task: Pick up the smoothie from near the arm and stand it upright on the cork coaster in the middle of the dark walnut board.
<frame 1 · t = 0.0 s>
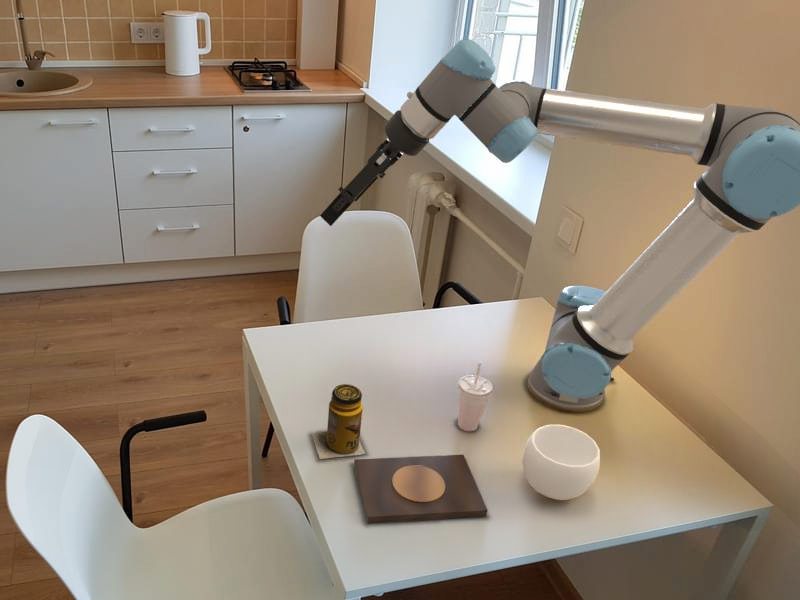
hand: (339, 208, 135), 36 cm above the table, tool tilted 35°, fingers open, 13 cm apart
smoothie: (467, 426, 140), on the table
cup: (552, 488, 127), on the table
condiment: (337, 445, 134), on the table
board: (417, 490, 124), on the table
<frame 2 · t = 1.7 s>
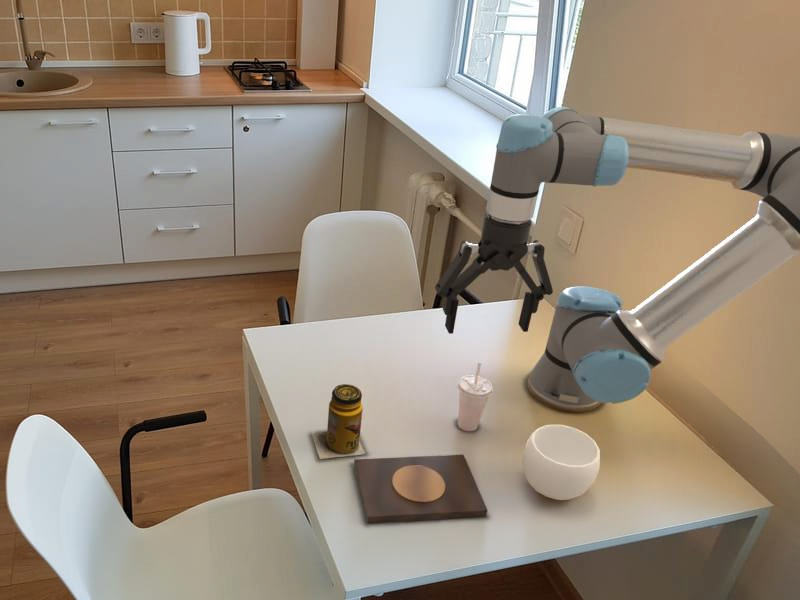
hand: (486, 328, 128), 22 cm above the table, tool pointing down, fingers open, 13 cm apart
nothing on the table moved.
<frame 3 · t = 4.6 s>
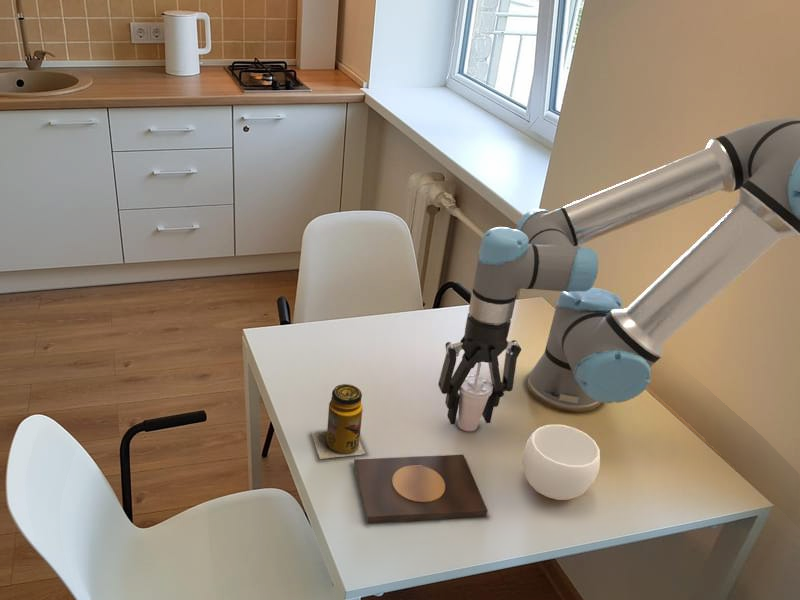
hand: (468, 419, 139), 1 cm above the table, tool pointing down, fingers closed on smoothie, 6 cm apart
smoothie: (467, 426, 140), on the table, touching gripper
everything else where it was.
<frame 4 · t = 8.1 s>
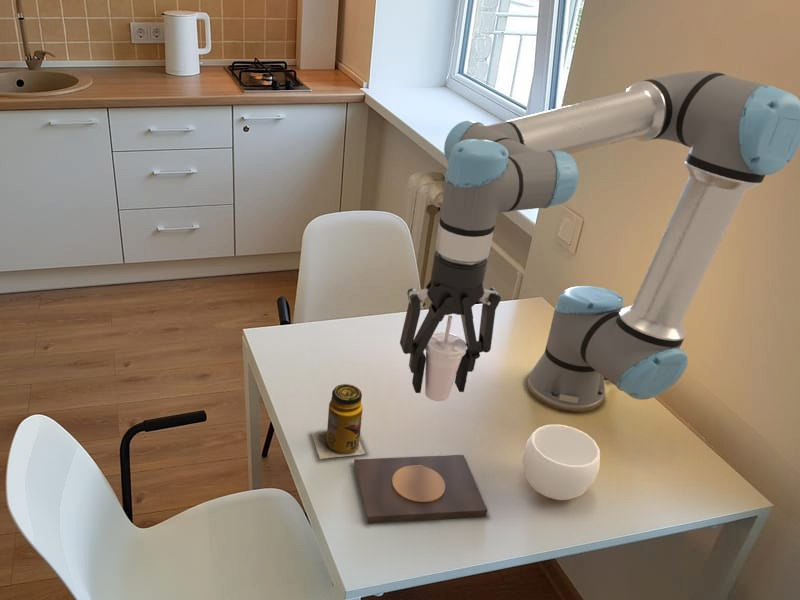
hand: (437, 387, 115), 20 cm above the table, tool pointing down, fingers closed on smoothie, 6 cm apart
smoothie: (436, 395, 116), point 19 cm above the table, touching gripper
everything else where it was.
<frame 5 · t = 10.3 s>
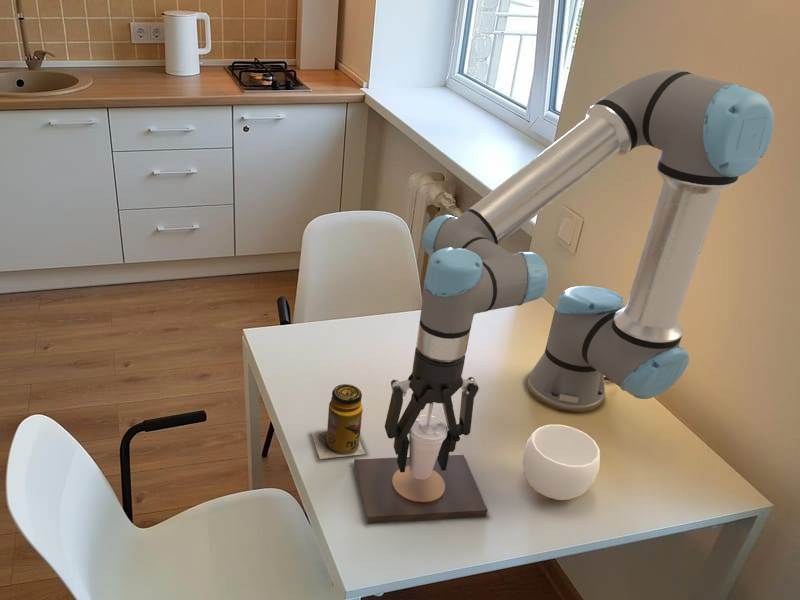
hand: (421, 465, 121), 6 cm above the table, tool pointing down, fingers closed on smoothie, 6 cm apart
smoothie: (420, 472, 122), point 4 cm above the table, touching gripper
everything else where it was.
when the fingers open (3 cm above the table, at t = 11.5 s): smoothie stays where it is, resting on board.
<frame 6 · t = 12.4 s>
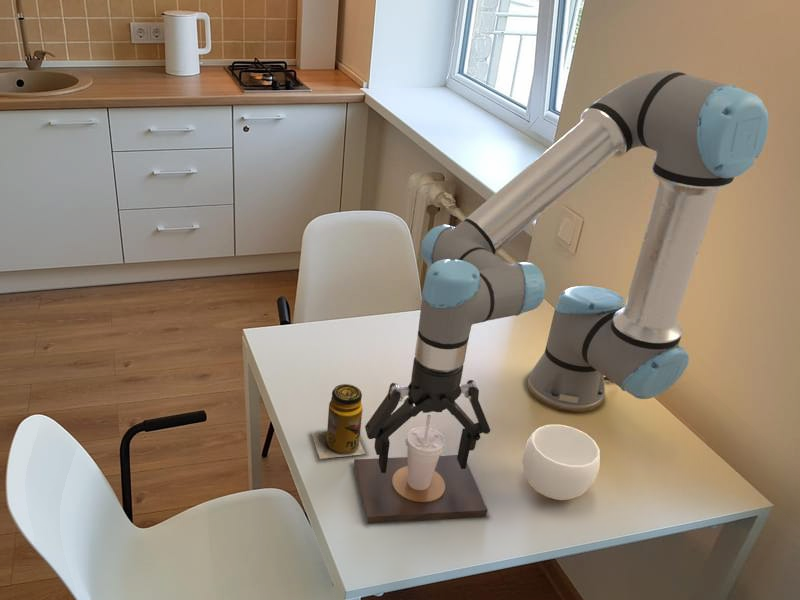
hand: (421, 465, 121), 6 cm above the table, tool pointing down, fingers open, 13 cm apart
smoothie: (418, 483, 123), point 2 cm above the table, touching board
everything else where it was.
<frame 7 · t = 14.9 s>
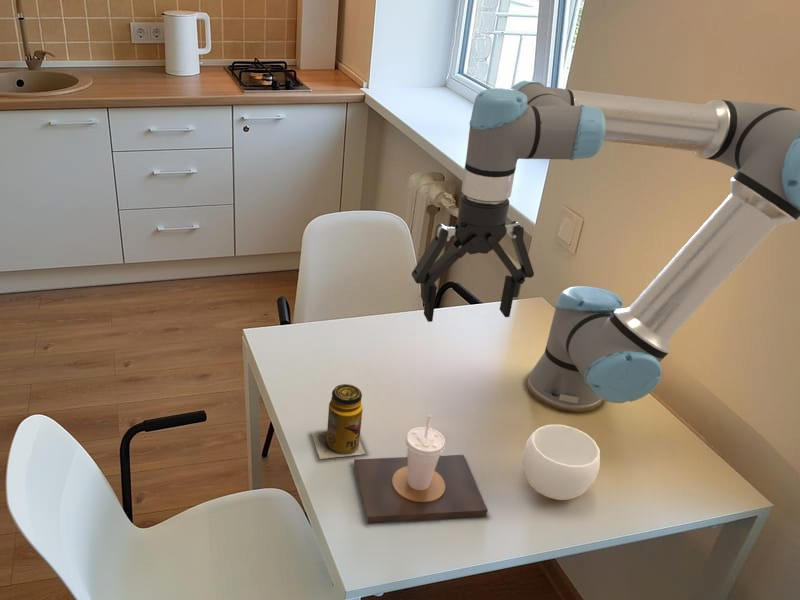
hand: (466, 315, 123), 26 cm above the table, tool pointing down, fingers open, 13 cm apart
nothing on the table moved.
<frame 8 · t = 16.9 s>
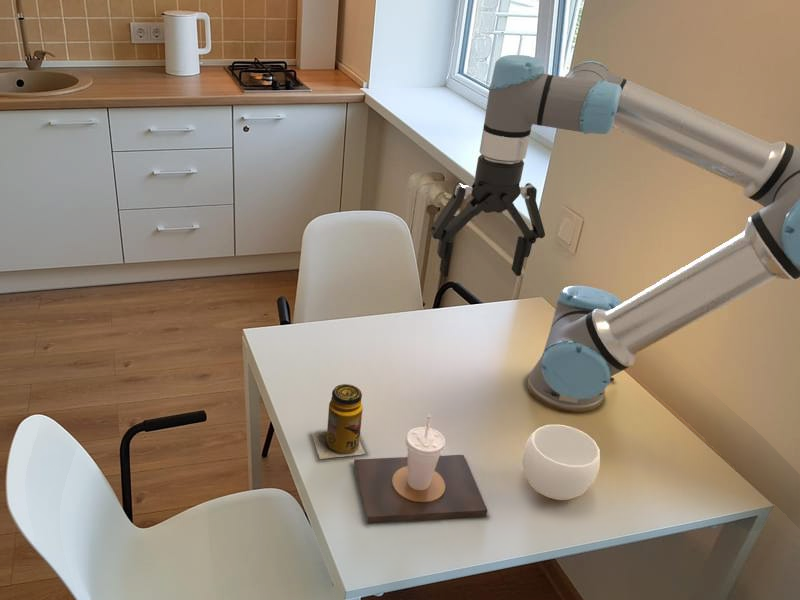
hand: (479, 273, 131), 29 cm above the table, tool pointing down, fingers open, 13 cm apart
nothing on the table moved.
at the end: smoothie inside the target area on the board (0.0 cm from its centre), point 1.5 cm above the board's base; smoothie tilted 0°; the gripper is holding nothing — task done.
